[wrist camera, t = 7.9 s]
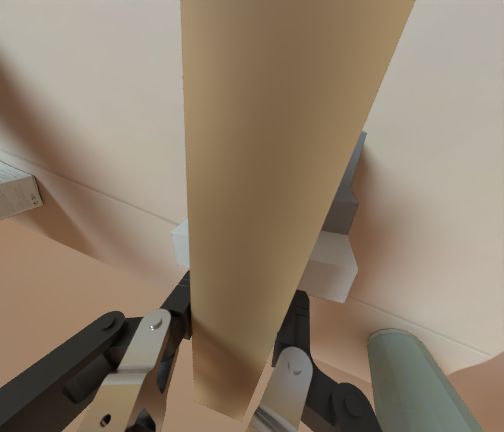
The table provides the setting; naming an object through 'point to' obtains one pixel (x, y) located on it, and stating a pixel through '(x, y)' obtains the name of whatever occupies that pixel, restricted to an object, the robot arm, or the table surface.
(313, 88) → the oak beam
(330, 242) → the ridge stand
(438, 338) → the table surface
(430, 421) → the disposable coffee cup
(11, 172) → the skincare box
